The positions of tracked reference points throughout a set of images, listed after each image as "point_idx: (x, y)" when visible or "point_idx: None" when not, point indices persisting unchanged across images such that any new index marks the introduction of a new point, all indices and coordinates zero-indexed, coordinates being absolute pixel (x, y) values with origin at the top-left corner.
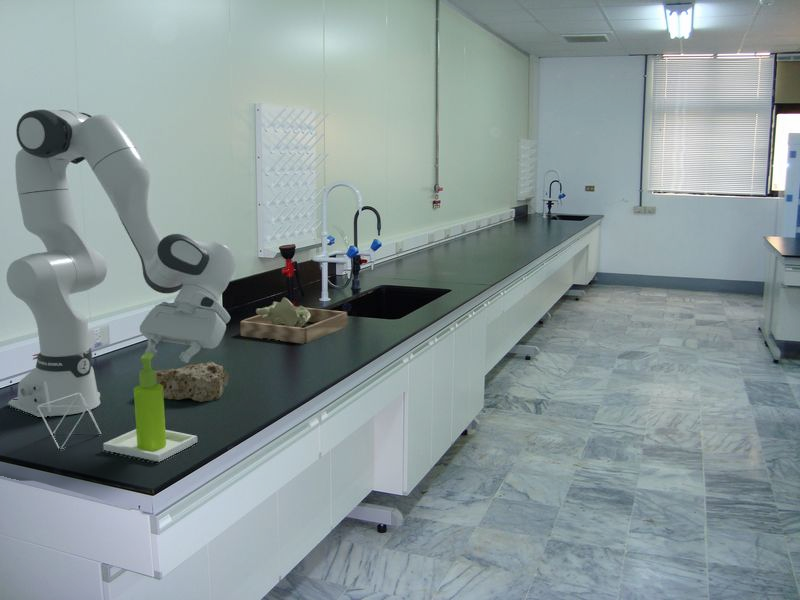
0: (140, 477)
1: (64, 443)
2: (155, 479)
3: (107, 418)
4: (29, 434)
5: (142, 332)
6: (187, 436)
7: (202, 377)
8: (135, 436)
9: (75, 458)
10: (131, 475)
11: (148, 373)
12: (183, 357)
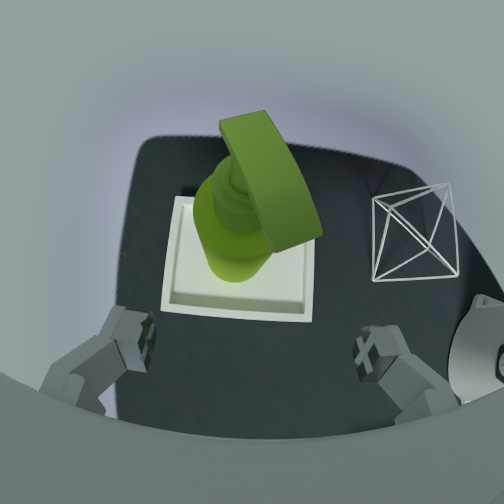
0: (177, 152)
1: (374, 198)
2: (151, 155)
3: (411, 349)
4: (447, 238)
5: (494, 392)
6: (181, 305)
7: None
8: (301, 287)
9: (328, 178)
10: (195, 153)
11: (224, 159)
12: (118, 309)
